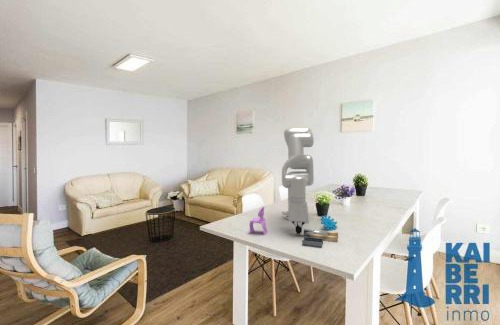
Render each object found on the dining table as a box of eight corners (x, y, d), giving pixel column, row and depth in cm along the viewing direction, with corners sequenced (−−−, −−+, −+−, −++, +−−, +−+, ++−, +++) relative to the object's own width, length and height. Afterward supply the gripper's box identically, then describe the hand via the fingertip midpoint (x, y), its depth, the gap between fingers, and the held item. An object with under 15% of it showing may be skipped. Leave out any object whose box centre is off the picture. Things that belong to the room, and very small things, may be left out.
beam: (310, 239, 128) (310, 234, 128) (312, 234, 135) (312, 230, 135) (337, 242, 123) (337, 237, 123) (338, 237, 131) (338, 232, 130)
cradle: (302, 246, 120) (302, 240, 120) (304, 241, 126) (304, 236, 126) (321, 248, 117) (321, 243, 116) (323, 243, 123) (323, 238, 123)
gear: (324, 229, 138) (319, 214, 145) (319, 234, 142) (314, 219, 149) (341, 230, 142) (335, 214, 148) (336, 235, 146) (330, 219, 152)
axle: (303, 235, 132) (303, 228, 133) (304, 235, 135) (304, 229, 136) (327, 237, 127) (327, 231, 128) (327, 238, 130) (327, 231, 131)
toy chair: (253, 229, 146) (253, 204, 145) (268, 231, 143) (267, 205, 142) (248, 234, 138) (248, 207, 138) (263, 236, 135) (263, 208, 134)
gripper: (282, 200, 133) (283, 234, 134) (311, 201, 127) (311, 237, 128) (286, 197, 139) (286, 229, 140) (313, 199, 134) (313, 232, 135)
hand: (298, 233), depth 134 cm, fingers closed
